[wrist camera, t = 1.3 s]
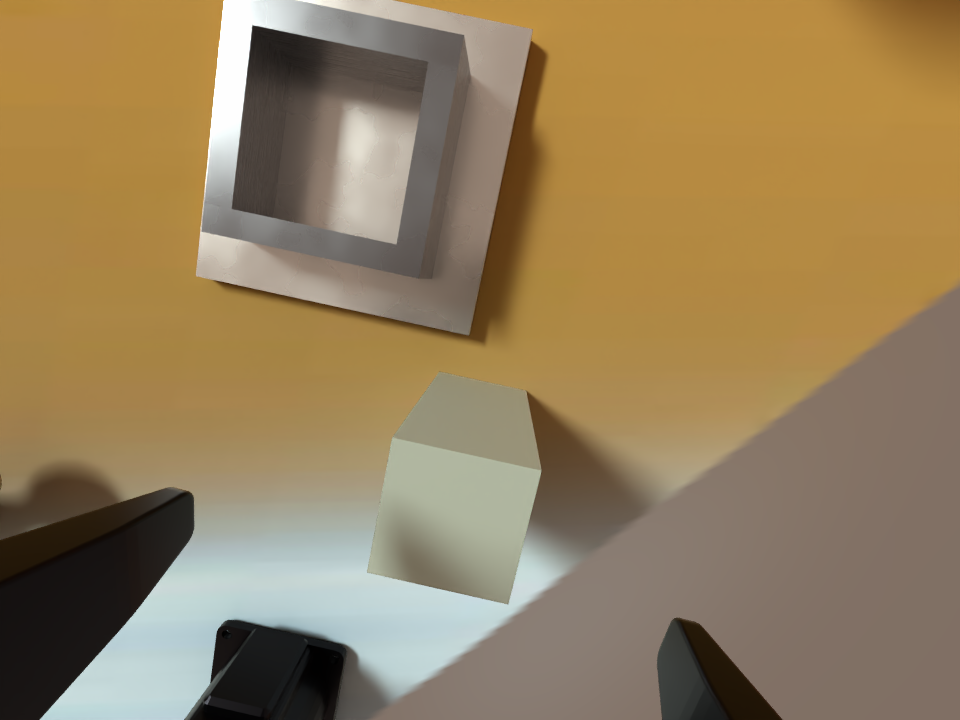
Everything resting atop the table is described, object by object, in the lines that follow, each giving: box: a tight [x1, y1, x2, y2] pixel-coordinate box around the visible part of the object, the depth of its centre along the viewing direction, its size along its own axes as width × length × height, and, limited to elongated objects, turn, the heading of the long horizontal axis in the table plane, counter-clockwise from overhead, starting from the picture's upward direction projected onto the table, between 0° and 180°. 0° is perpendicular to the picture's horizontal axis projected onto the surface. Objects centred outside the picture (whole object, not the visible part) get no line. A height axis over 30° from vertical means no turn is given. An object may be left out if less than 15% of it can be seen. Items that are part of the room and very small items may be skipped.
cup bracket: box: [196, 0, 533, 335], centre depth 18 cm, size 12×12×4 cm
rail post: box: [367, 372, 542, 604], centre depth 17 cm, size 4×4×9 cm
